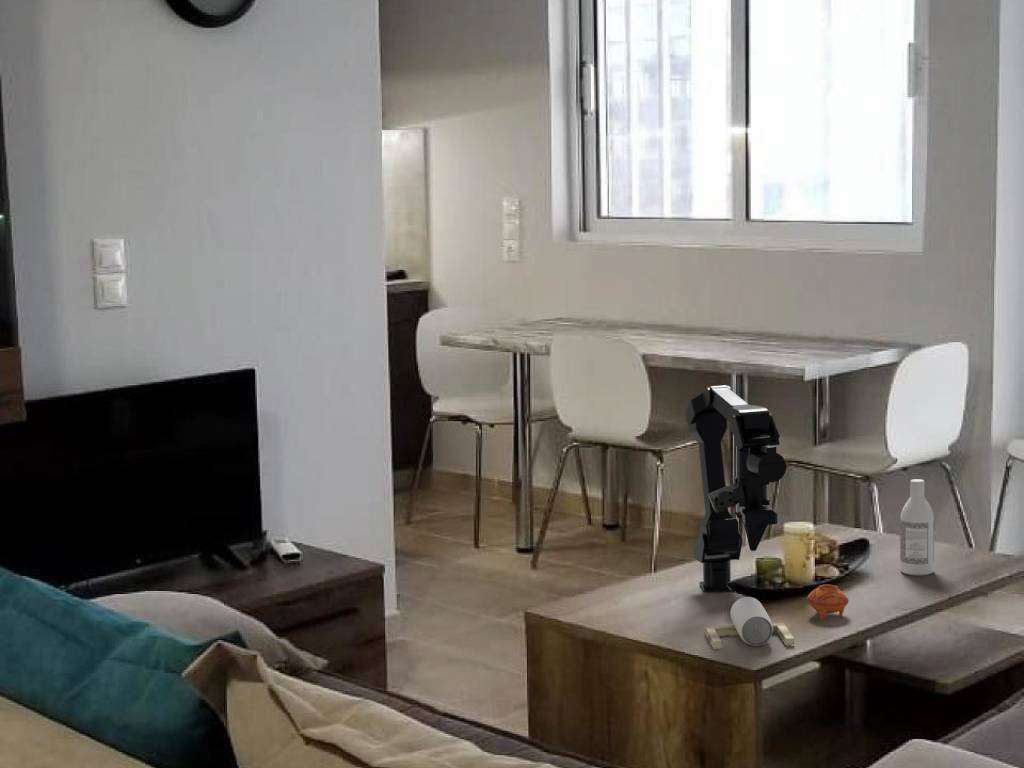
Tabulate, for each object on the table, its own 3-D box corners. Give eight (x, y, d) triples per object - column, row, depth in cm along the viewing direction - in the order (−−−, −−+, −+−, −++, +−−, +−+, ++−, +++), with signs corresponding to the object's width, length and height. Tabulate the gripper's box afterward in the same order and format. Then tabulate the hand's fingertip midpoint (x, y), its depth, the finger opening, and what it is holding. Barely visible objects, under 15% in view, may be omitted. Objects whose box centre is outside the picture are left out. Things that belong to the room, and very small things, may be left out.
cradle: (705, 634, 310) (705, 626, 310) (783, 630, 311) (783, 623, 310) (713, 649, 301) (713, 641, 300) (794, 646, 301) (794, 638, 301)
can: (727, 626, 313) (737, 646, 301) (732, 594, 312) (742, 612, 300) (761, 630, 313) (772, 649, 301) (765, 597, 312) (776, 616, 300)
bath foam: (912, 566, 354) (912, 475, 351) (940, 571, 349) (940, 479, 346) (893, 572, 349) (894, 480, 346) (921, 578, 344) (922, 485, 341)
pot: (796, 614, 320) (801, 580, 320) (824, 616, 324) (829, 582, 324) (825, 622, 313) (830, 587, 313) (854, 624, 318) (859, 589, 318)
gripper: (703, 464, 326) (704, 540, 329) (719, 483, 308) (720, 564, 310) (759, 462, 327) (759, 538, 329) (777, 481, 308) (778, 562, 311)
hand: (753, 550), depth 320 cm, fingers closed
